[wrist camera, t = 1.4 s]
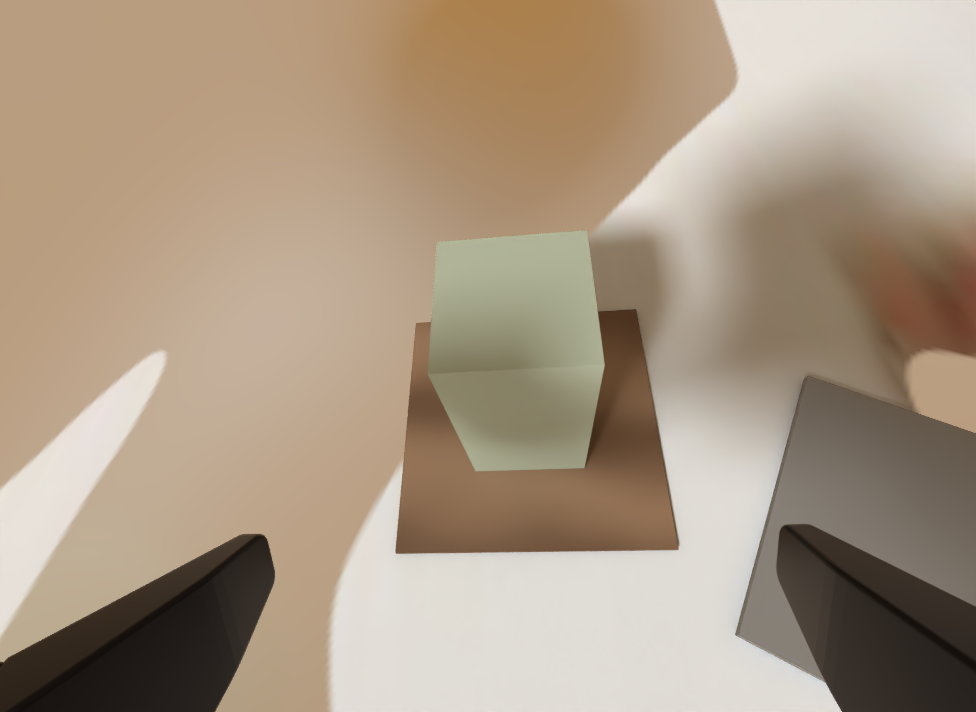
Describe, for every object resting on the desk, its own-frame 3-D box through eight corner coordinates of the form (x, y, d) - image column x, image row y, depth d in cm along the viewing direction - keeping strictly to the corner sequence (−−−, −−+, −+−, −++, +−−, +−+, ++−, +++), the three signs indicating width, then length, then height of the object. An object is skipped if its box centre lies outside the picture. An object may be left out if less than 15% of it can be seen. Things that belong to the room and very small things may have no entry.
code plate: (677, 550, 20) (678, 549, 20) (396, 553, 21) (395, 552, 21) (635, 311, 26) (636, 309, 26) (416, 325, 27) (415, 323, 27)
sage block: (584, 468, 22) (604, 364, 13) (475, 471, 23) (427, 373, 14) (575, 370, 25) (587, 230, 16) (477, 375, 25) (437, 242, 16)
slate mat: (1146, 850, 15) (1160, 856, 14) (735, 635, 19) (738, 635, 18) (1131, 493, 19) (1141, 490, 19) (804, 379, 23) (807, 375, 23)
